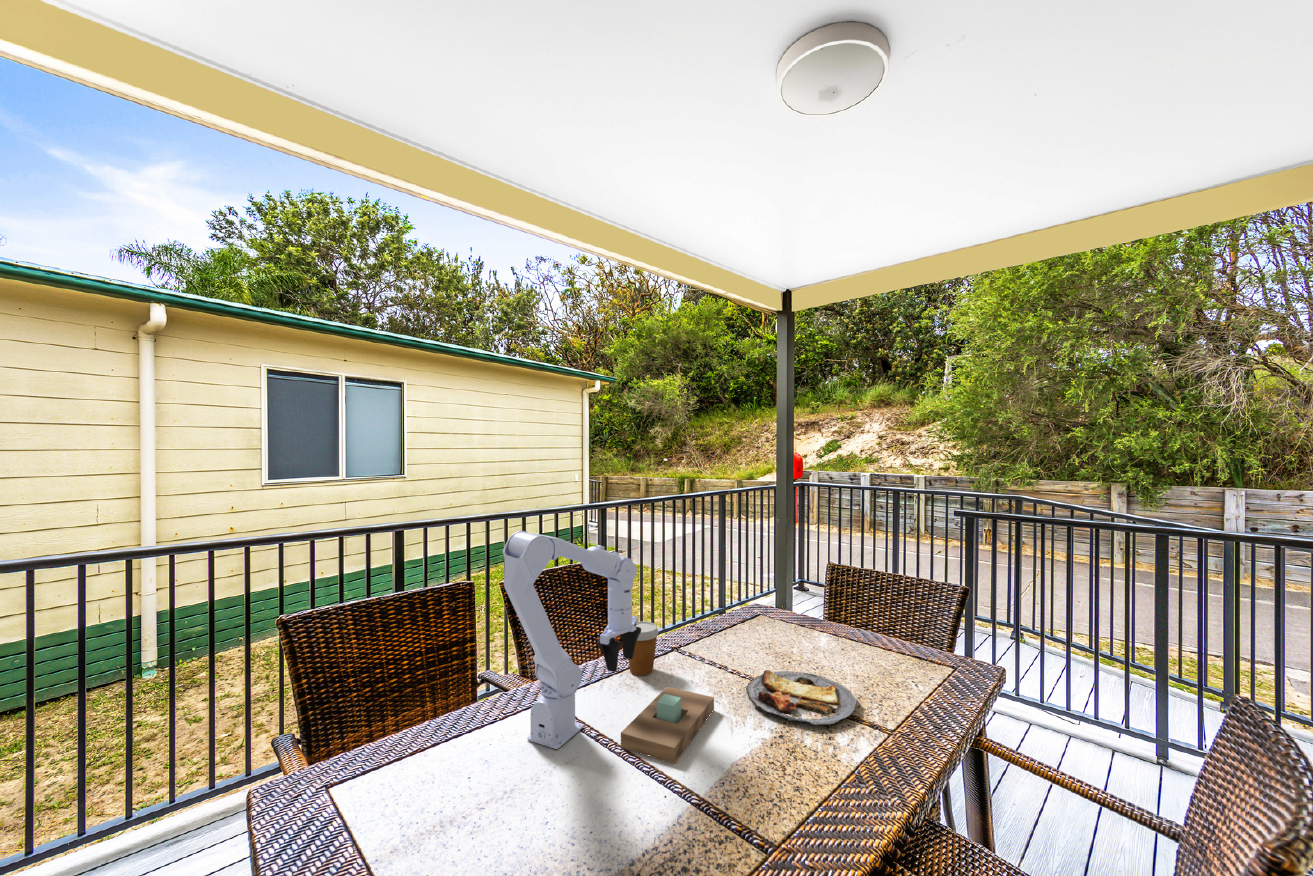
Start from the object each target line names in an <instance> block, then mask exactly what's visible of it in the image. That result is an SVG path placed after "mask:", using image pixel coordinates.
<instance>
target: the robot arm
mask: <svg viewBox="0 0 1313 876" xmlns="http://www.w3.org/2000/svg"><path fill="white" fill-rule="evenodd" d="M502 554H503V558H504V568H503V569H504V574H503V587H504V590H505V592H506V593H507V596H508V598H509V600H510V602H511V604H512V606H513V609H514V611H515V613H516V616H517V617H518V619H519V621H520V624H521V626H522V628H523V631H524V632H525V634H526V637H527V639H528V641H529V643H530V645H531V648H532V649H533V652H534V653H535V654H534V656H533V657H532V659H533V660H532V661H533V662H534V666H535V667H534V668H535V669H534V675H535V677H536V679H537V680H538V681H539V682H540V695H539V697H538V698H537V700H536V702H535V703H534V704H533V705H532V706H531V708H530V734H529V736H527V737H526V738H527V741H529V742H533V743H536V744H538V745H539V744H540V745H542V746H544V747H547V748H551V749H555V750H558V749H560V748H561V747H562V746H563V745H564V744H566V743H567V742H568V741H569V740H570V739H572V738H573V736H575V735H576V734H577V733H578V732H579V731H581V730H582V729H583V728H584V723H580V722H576V693H577V690H578V688H579V687H580V684H581V683H582V678H583V676H582V670H581V668H580V666H578V664H576V663H574V661H572V660H573V659H572V658H571V656H570V655H569V654H568V653H567V652H566V651H565V649H564V648H563V647H562V646H561V644H560V641H559V640H558V637H557V635H556V633H555V630H554V628H553V626H552V624H551V621H550V620H549V617H548V615H547V613H546V610H545V608H544V605H543V604H542V601H541V599H540V597H539V595H538V592H537V590H536V588H535V586H534V583H535V582H536V581H537V579H538V577H539V576H540V575H541V574H542V572H543V571H544V570H545V569H546V567H547V566H548V564H549V563H550V561H551V560H552V561H555V560H557V559H558V558H559V557H561V558H566V559H568V560H572V561H575V562H579V563H581V565H582V568H583V569H584V570H585V571H586V572H589V573H592V574H595V575H598V576H601V577H605V578H606V579H607V625H606V627H605V628H604V630H603V632H602V633H601V634H599V639H598V640H597V646H598V647H599V649H600V651H601V653H602V656H603V658H604V663H605V665H606V669H607V671H609V672H613V673H616V672H617V669H618V663H619V655H620V654H619V653H620V650H621V647H622V654H623V658H624V659H626V660H629V659H632V658H633V654H634V650H635V645H636V642H637V639H638V637H639V634H640V633H641V628H640V627H636V626H637V625H638V622H639V616H634V615H633V592H632V591H633V587H634V580H635V578H636V576H637V573H638V568H637V567H636V564H635V562H634V561H633V559H631V558H629V557H625V556H621V555H619V554H620V553H619V552H617V551H612V552H611V551H608V550H605V546H603V545H599V544H596V546H595V545H593V546H589V547H588V548H587V549H586V548H584V547H582V546H579V545H577V544H575V543H572V542H570V541H567V540H564V539H562V538H560V537H555V536H550V535H547V534H546V535H544V534H540V533H539V534H538V533H533V532H532V533H531V532H528V531H525V530H519V531H515V532H513V533H512V534H511V535H510V536H509V537H508V538H507V541H506V543H505V544H504V547H503V549H502ZM618 636H620V639H621V642H619V641H617V640H616V637H618Z"/></svg>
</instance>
